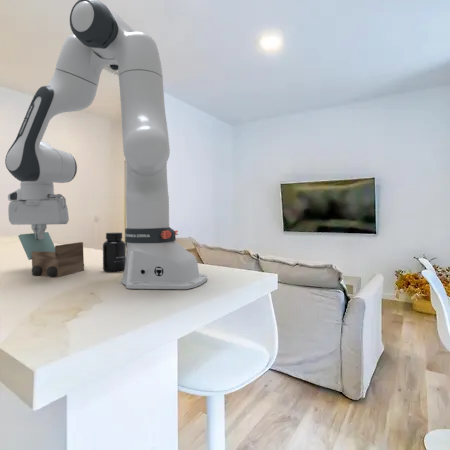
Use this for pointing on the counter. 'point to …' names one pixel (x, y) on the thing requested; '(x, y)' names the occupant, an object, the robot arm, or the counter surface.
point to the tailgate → (36, 244)
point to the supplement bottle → (114, 253)
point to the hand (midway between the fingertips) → (39, 239)
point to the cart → (59, 261)
